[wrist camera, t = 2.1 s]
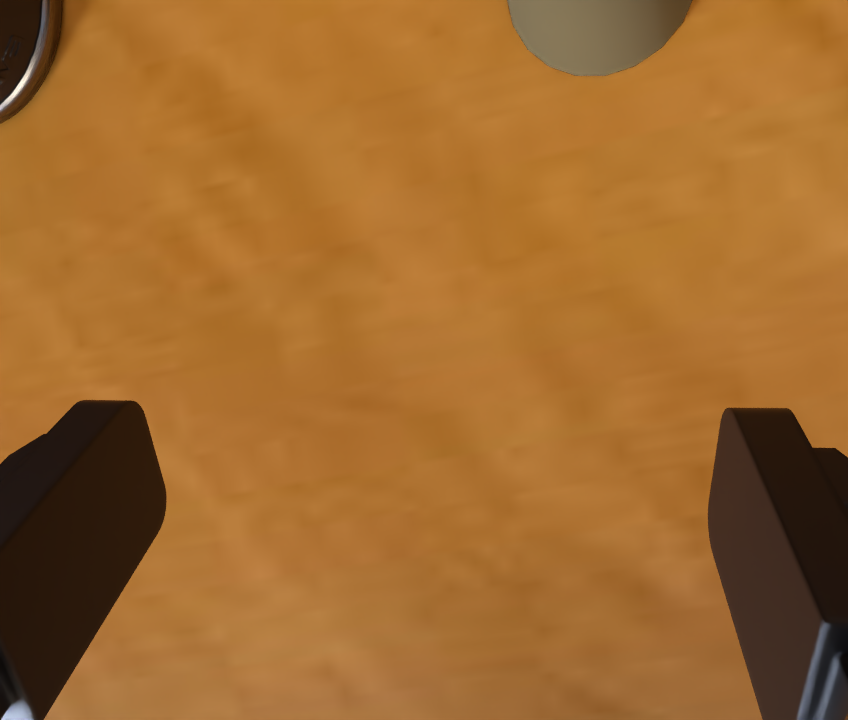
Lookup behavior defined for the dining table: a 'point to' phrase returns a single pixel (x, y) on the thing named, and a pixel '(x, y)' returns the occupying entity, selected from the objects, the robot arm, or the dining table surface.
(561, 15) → the pawn
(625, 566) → the dining table surface
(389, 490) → the dining table surface
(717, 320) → the dining table surface
